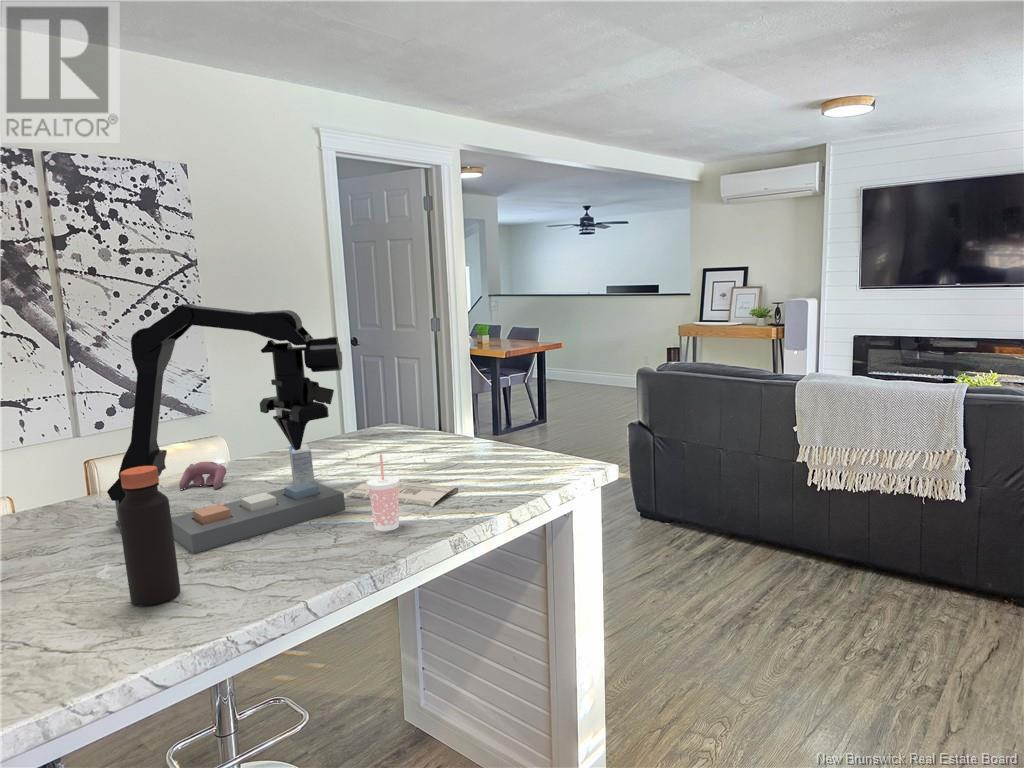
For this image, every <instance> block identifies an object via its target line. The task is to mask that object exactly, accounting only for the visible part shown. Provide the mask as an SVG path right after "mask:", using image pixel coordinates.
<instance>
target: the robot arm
mask: <svg viewBox="0 0 1024 768" xmlns="http://www.w3.org/2000/svg"><path fill="white" fill-rule="evenodd" d="M193 326H199V327H205V328H206V327H207V328H218V329H226V330H233V331H243V332H244V331H245V332H250V333H254V334H257V335H259V336H262V337H263V338H268V340H267V342H266V345H264V347H262V349H260V352H261V354H266V353H269V354H271V355H272V362H273V363H272V364H273V372H274V378H273V379H271V380H270V381H271V385H272V386H275V391H276V392H275V393H276V396H270V397H263V398H262V400H261V401H260V402H259V412H260V413H264V414H268V413H269V412H270V411H275V413H276V415H274V416H272V419H273V420H275V422H276V424H277V425H278V426H279V428H280V430H281V431H282V433H283V434H284V436H285V437H286V440H287V441H288V442H289V444H290V446H292V447H293V449H294V450H299V449H300V448H301V444H302V443H303V438H304V434H305V430H306V426H307V424H308V423H309V422H311V421H315V420H321V419H326V418H329V415H330V414H329V407H328V406H327V405H332V400H333V398H334V397H333V396H334V392H335V390H334V389H332V388H327V387H325V386H324V387H323V386H320V384H319V382H318V381H313V380H311V379H310V378H309V377H308V376H306V375H305V367H306V368H307V369H310V371H311V372H312V373H321V372H334V371H335V372H337V371H342V369H343V353H342V352H343V351H341V346H340V343H339V336H330V337H327V338H326V337H325V338H314V337H313V336H312V335H311V333H309V331H307V329H306V328H305V327H304V326H303V322H302V319H301V317H300V316H299V314H298V313H297V312H295V311H294V310H290V309H285V310H284V309H283V310H282V309H281V310H267V311H248V310H247V311H244V310H237V309H227V308H219V307H212V306H211V307H209V306H201V305H196V304H193V303H186V304H180V305H178V306H176V307H175V308H174V309H173V310H172V311H171V312H169V313H167V314H166V315H165V316H164V317H162V318H160V319H159V320H157V321H155V322H154V323H153V324H151V325H150V326H149V327H145V328H140V329H137V331H135V332H134V333H132V336H131V337H130V338H131V339H130V348H131V358H132V361H133V364H134V367H135V369H136V383H135V384H136V385H135V394H134V404H133V414H132V415H133V417H132V425H131V426H132V428H131V436H130V437H131V438H130V444H129V445H128V448H127V449H126V452H125V454H124V455H123V458H122V461H121V464H120V467H119V472H118V479H116V481H115V482H114V483H113V484H112V485H111V486H110V488H108V490H107V491H106V493H107V495H108V496H109V498H110V500H111V501H112V502H114V501H115V502H114V503H115V509H116V517H117V520H116V521H115V524H116V525H117V526H119V527H120V522H119V515H118V506H119V504H120V503H121V502H122V500H123V499H124V498H125V496H126V494H125V491H123V488H122V484H121V477H120V473H121V472H122V471H124V470H126V469H130V468H134V467H139V466H156V467H157V469H158V476H159V477H161V475H162V473H163V471H164V470H166V469H167V466H166V461H165V460H166V457H167V452H168V450H166V449H160V446H159V444H158V430H159V422H160V421H159V419H160V410H161V401H162V390H163V382H164V379H163V378H164V373H165V370H166V368H167V367H168V365H169V362H170V361H171V359H172V358H171V357H172V356H173V351H174V350H175V349H174V348H175V345H176V341H177V340H178V339H180V338H181V337H182V336H183V335H184V334H185V333H186V332H187V331H188V330H190V328H191V327H193ZM274 340H275V341H277V342H278V341H280V342H278V343H277V342H275V341H274ZM282 341H283V342H282ZM286 341H287V342H286ZM292 344H293V345H294V346H293V345H292ZM303 354H304V355H303ZM304 365H305V366H304Z"/></svg>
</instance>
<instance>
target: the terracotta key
mask: <svg viewBox="0 0 1024 768" xmlns="http://www.w3.org/2000/svg"><path fill="white" fill-rule="evenodd" d="M192 512H193V515H194V521H196V522H197V523H199V524H201V525H205V524H209V523H213V522H216V521H220V520H224V519H227V518H231V514H230V509H229V508H227V507H225V506H223V504H221V503H218V504H214V505H210V506H206V507H201V508H198V509H195V510H192Z"/></svg>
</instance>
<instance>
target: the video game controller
mask: <svg viewBox="0 0 1024 768" xmlns="http://www.w3.org/2000/svg"><path fill="white" fill-rule="evenodd" d="M226 474H227V468H226V467H225V465H222V464H220V463H219V462H214V461H199V462H197V463H190V464H189V465H188V467H186V468H185V470H184V472H183V474H182V477H181V479H180V481H179V484H178V487H179V489H180V490H181V489H184V488H186V489H187V487H188V486H190V484H191V483H193V485H194V486H196V487H201V486H200V485H202V486H203V485H204V484H205V483H206V485H207V486H209V485H213V486H212V487H213V488H214V490H218V489H220V488H221V487H222V485H223V482H224V478H225V476H226ZM204 475H208V476H207V478H206V480H205V477H204ZM219 487H220V488H219ZM217 488H218V489H217ZM184 490H185V489H184Z"/></svg>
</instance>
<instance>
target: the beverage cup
mask: <svg viewBox="0 0 1024 768" xmlns="http://www.w3.org/2000/svg"><path fill="white" fill-rule="evenodd" d="M379 462H380V463H379V465H380V474H381V476H378V477H372V478H370V479H368V480H366V481H367V488H369V495H370V500H369V501H370V507H371V514H372V521H373V527H374V530H375V531H379V532H389V531H392V530H396V529H397V528H399V526H400V521H399V519H400V518H399V517H400V512H399V504H400V503H399V502H398V485H399V482H400V478H399V477H398V476H392V475H385V473H384V460H383V454H379Z"/></svg>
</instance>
